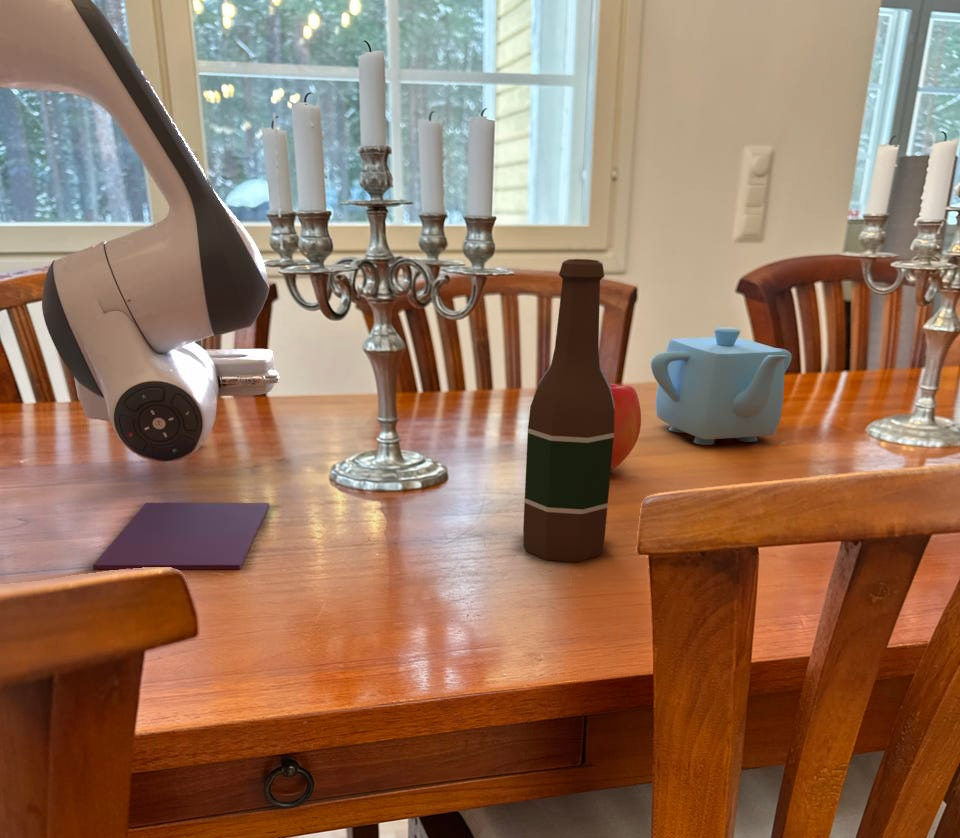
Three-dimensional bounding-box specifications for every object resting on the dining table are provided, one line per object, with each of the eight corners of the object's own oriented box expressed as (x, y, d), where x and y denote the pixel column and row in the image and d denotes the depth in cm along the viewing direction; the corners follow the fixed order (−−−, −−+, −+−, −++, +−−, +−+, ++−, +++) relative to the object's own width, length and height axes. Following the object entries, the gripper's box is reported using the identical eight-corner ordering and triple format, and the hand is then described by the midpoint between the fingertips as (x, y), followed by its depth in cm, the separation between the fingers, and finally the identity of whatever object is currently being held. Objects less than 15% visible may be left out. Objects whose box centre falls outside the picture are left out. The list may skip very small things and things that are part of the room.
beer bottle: (543, 526, 86) (559, 254, 75) (619, 542, 82) (647, 260, 71) (505, 551, 80) (515, 260, 69) (585, 570, 76) (609, 266, 65)
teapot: (628, 437, 116) (639, 328, 110) (675, 413, 129) (688, 315, 122) (767, 461, 108) (787, 345, 101) (804, 433, 120) (824, 328, 114)
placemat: (93, 569, 74) (92, 565, 74) (146, 506, 88) (145, 502, 88) (239, 569, 75) (239, 564, 75) (269, 506, 89) (268, 502, 89)
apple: (653, 471, 103) (663, 383, 98) (602, 488, 97) (610, 395, 92) (587, 454, 109) (594, 369, 104) (536, 469, 103) (540, 380, 98)
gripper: (277, 349, 88) (273, 328, 100) (55, 352, 84) (79, 329, 96) (282, 413, 91) (278, 385, 103) (68, 419, 87) (89, 389, 99)
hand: (180, 358), depth 100 cm, fingers open, 8 cm apart
